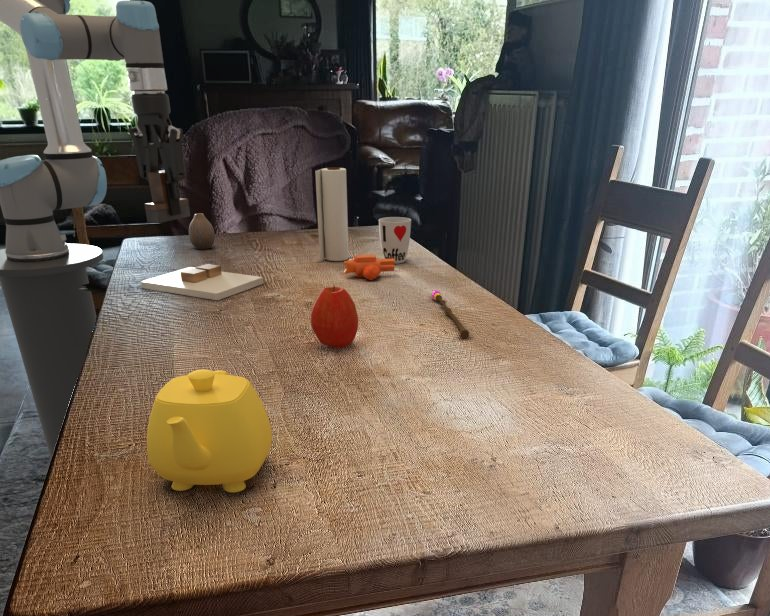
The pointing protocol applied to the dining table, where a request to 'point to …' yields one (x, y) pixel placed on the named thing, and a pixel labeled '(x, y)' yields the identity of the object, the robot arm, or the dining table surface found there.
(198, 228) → the vase
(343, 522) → the dining table surface
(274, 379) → the dining table surface
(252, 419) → the teapot
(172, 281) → the board
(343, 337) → the apple
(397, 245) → the cup
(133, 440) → the dining table surface
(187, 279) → the brown wooden block
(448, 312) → the magic wand
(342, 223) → the paper towel roll
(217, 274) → the tan wooden block
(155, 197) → the wooden toy block
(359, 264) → the orange toy bird
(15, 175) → the robot arm
